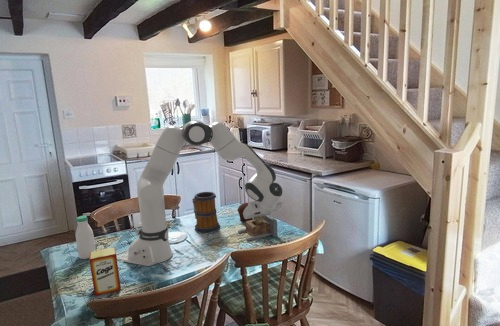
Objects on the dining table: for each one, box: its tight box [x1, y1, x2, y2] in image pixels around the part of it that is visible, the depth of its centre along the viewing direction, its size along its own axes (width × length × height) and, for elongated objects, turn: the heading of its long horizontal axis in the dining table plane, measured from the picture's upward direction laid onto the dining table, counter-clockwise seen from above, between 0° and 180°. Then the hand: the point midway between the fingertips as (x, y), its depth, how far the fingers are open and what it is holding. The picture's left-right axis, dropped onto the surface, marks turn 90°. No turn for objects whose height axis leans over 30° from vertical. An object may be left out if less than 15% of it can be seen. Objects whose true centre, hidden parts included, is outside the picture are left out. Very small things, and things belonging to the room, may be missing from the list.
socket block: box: [245, 219, 270, 237], centre depth 182 cm, size 10×9×6 cm
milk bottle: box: [75, 215, 97, 260], centre depth 163 cm, size 8×8×20 cm
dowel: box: [255, 216, 263, 225], centre depth 181 cm, size 4×4×10 cm
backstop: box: [237, 214, 278, 241], centre depth 181 cm, size 16×18×9 cm
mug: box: [192, 191, 221, 235], centre depth 192 cm, size 19×14×20 cm
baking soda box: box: [88, 246, 122, 297], centre depth 135 cm, size 10×6×16 cm
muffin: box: [236, 202, 255, 223], centre depth 201 cm, size 12×11×10 cm
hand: (258, 217), depth 182 cm, fingers closed on dowel, 4 cm apart
